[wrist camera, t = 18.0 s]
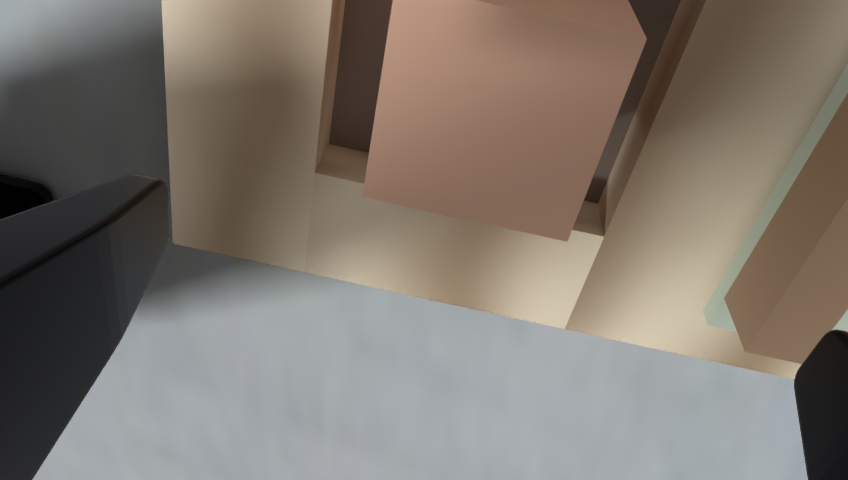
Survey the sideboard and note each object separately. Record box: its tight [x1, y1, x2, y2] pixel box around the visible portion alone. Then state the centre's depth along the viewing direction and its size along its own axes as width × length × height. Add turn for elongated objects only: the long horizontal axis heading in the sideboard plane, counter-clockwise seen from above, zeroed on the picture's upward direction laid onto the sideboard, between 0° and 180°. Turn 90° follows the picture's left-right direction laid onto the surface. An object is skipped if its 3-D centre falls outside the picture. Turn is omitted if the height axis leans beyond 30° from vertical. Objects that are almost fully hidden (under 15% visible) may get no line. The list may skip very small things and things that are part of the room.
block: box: [362, 0, 647, 242], centre depth 15 cm, size 4×4×5 cm
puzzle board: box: [161, 0, 848, 379], centre depth 17 cm, size 24×15×2 cm, turn 79°
